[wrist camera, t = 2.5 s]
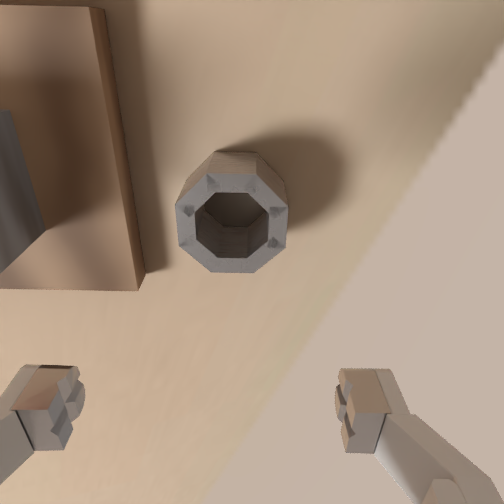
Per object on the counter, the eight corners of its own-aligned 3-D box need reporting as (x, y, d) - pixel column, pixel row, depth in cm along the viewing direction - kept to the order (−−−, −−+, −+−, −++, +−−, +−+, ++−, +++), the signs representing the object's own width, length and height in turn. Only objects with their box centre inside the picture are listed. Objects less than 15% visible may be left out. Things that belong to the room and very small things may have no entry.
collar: (285, 152, 22) (291, 174, 19) (279, 240, 25) (283, 273, 22) (184, 150, 22) (171, 172, 18) (191, 239, 25) (181, 271, 22)
